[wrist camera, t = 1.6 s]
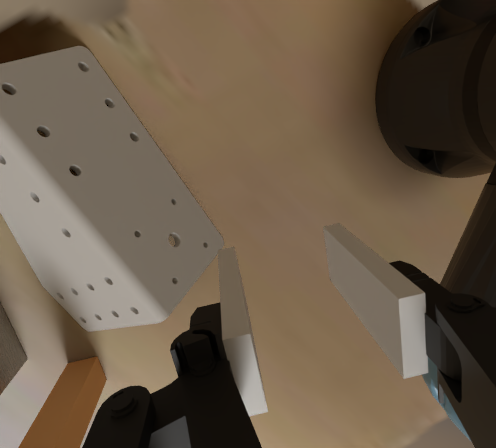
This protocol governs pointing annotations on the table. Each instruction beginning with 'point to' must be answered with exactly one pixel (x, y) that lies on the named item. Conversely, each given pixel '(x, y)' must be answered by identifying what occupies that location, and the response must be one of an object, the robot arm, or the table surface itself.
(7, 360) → the grey post stand
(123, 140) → the bracket
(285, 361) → the table surface
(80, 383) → the tan wooden beam
